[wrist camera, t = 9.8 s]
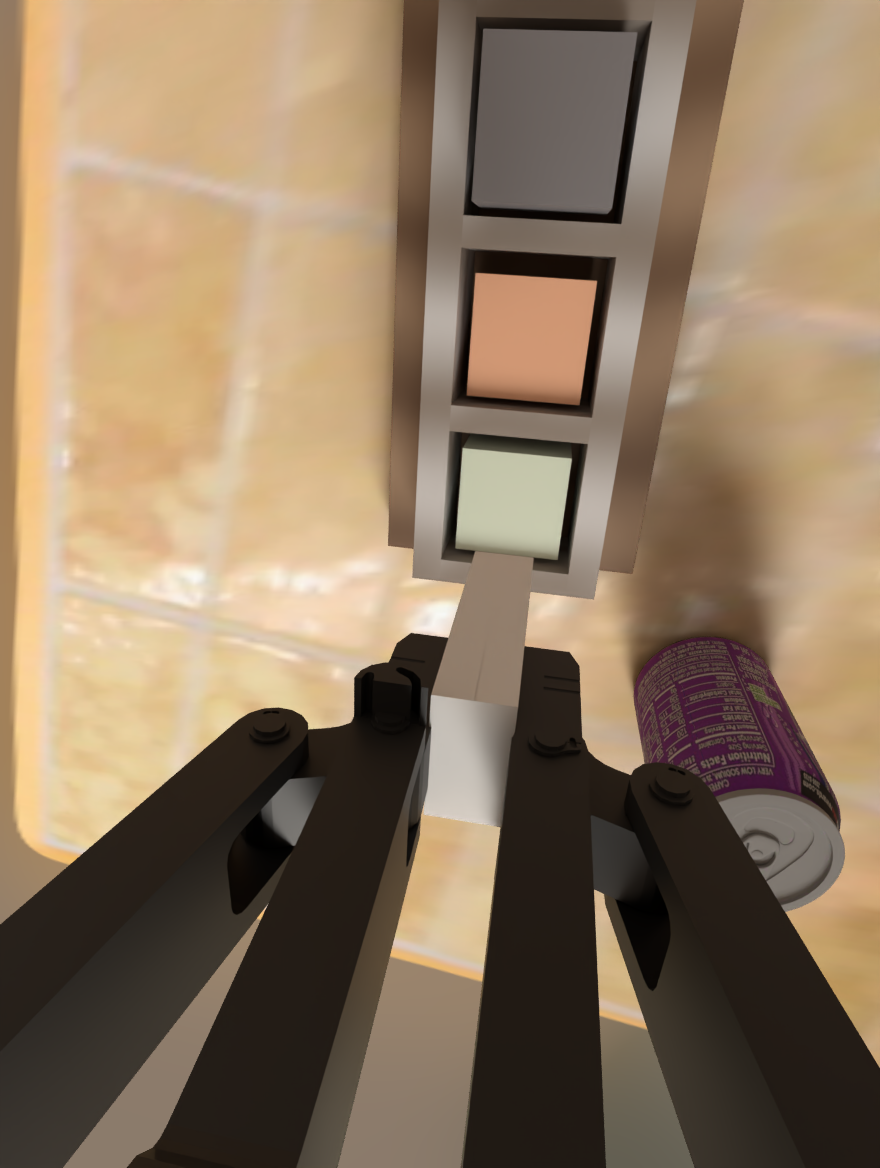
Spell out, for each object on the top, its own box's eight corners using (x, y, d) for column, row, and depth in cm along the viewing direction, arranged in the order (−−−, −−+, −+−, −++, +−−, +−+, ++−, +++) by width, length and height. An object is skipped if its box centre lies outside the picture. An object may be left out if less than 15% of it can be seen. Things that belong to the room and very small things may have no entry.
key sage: (471, 432, 31) (462, 448, 28) (570, 441, 30) (571, 458, 27) (463, 525, 32) (455, 548, 30) (557, 535, 32) (557, 560, 29)
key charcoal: (492, 57, 23) (483, 28, 20) (628, 61, 22) (637, 32, 20) (481, 208, 25) (471, 200, 22) (606, 215, 24) (611, 208, 21)
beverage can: (728, 758, 39) (794, 947, 28) (610, 714, 39) (630, 885, 28) (796, 658, 36) (900, 826, 25) (668, 610, 36) (715, 758, 25)
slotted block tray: (422, -207, 24) (378, -358, 19) (774, -213, 23) (848, -378, 17) (396, 531, 36) (365, 582, 30) (628, 558, 35) (642, 616, 29)
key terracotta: (483, 272, 28) (475, 272, 25) (593, 279, 27) (597, 281, 25) (475, 384, 30) (466, 395, 27) (577, 392, 29) (579, 405, 27)
